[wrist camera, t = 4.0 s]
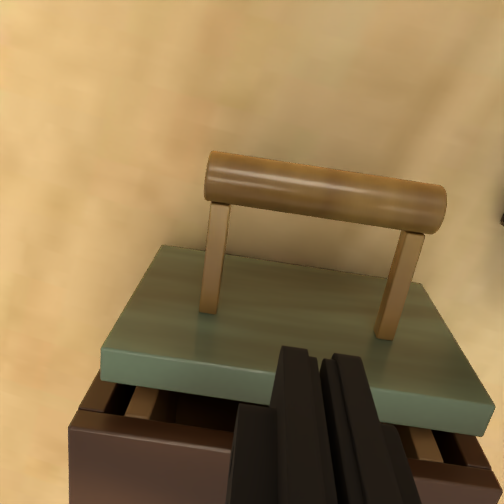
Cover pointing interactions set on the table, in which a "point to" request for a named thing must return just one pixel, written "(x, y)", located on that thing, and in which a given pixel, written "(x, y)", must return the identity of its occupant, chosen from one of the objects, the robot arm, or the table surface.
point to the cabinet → (218, 459)
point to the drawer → (295, 311)
